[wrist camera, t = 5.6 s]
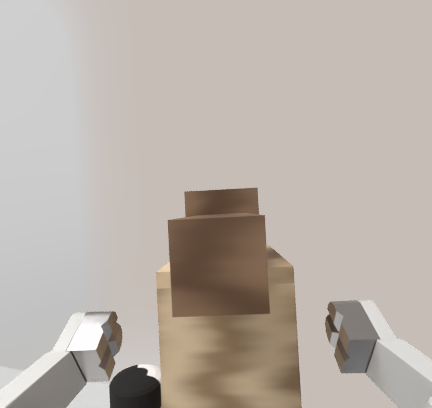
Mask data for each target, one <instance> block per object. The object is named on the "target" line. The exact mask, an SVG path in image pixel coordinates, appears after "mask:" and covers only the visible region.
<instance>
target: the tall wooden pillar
mask: <svg viewBox="0 0 432 408" xmlns="http://www.w3.org/2000/svg"><path fill="white" fill-rule="evenodd" d="M266 250H267V268H268V286H269V304H270V314H252V315H224V316H196V317H172V298H171V276H170V261H169V262H168V263H166V264H165V265H164V266H163V267H162V268H161V269H160V270H159V271H157V272H156V278H157V300H158V322H159V344H160V365H161V366H160V367H161V389H162V408H302V407H301V391H300V373H299V357H298V356H299V355H298V339H297V321H296V304H295V286H294V269H293V266H292V265H291V264H290V263H289V262H288V261H286V260H285V259H284V258H283V257H282V256H281V255H279V254H278V253H277V252H276V251H275V250H274V249H272V248H271V247H270V246H269V245H268V244H266Z"/></svg>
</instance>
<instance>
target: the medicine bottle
mask: <svg viewBox="0 0 432 408" xmlns="http://www.w3.org/2000/svg"><path fill="white" fill-rule="evenodd" d="M109 388H110V408H162V389H161V370H160V369H159V368H158V367H156V366H154V365H149V364H143V365H135V366H132V367H129V368H126V369H124V370H122V371H121V372H119V373H118V374H117V375H116V376H115V377H114V378H113V380H112V381H111V383H110V386H109Z"/></svg>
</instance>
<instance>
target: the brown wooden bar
mask: <svg viewBox="0 0 432 408" xmlns="http://www.w3.org/2000/svg"><path fill="white" fill-rule="evenodd" d="M258 210H259V208H258V191H257V188H247V189H246V188H245V189H226V190H209V191H189V192H185V211H186V212H185V213H186V217H185V218H179V219H173V220H168V233H169V255H170V276H171V298H172V317H196V316H224V315H252V314H270V304H269V286H268V268H267V250H266V232H265V215H259V211H258Z"/></svg>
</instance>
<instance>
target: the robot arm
mask: <svg viewBox="0 0 432 408" xmlns="http://www.w3.org/2000/svg"><path fill="white" fill-rule="evenodd" d="M328 311H329V315H328V316H327V317H326V322H325V325H326V333H327V337H328V340H329V342H330V344H331V345H332V346H333V347H335V348H336V349H335V354H334V355H335V358H336V361H337V363H338V366H339V369H340V371H341V373H366V375H367V376H368V377H369V378H370V379H371V380H372V381H373V382H374V383H375V384H376V385H377V386H378V387H379V388H380V389H381V390H382V391H383V392H384V393H385V394H386V395H387V396H388V397H389V398H390V399H391V400H392V401H393V402H394V403H395V404H396V405H397V406H398V407H399V408H432V360H431V359H430V358H429V357H427V356H426V355H424V354H423V353H421V352H420V351H419V350H417V349H416V348H414V347H413V346H411V345H410V344H408V343H407V342H406V341H404V340H403V339H397V337H396V336H395V334H394V333H393V331H392V329H391V328H390V326H389V325H388V323H387V321H386V320H385V318H384V317H383V316H382V313H381V312H380V310H379V309H378V307H377V305H376V304H375V302H373V301H372V300H359V301H337V302H330V303H329V304H328ZM116 321H117V315H116V312H76V313H74V314H73V315H72V316H71V318H70V319H69V321H68V323H67V325H66V327H65V328H64V330H63V332H62V334H61V336H60V337H59V339H58V341H57V343H56V345H55V346H54V348H53V350H52V352H47V353H46V354H45V355H43V356H42V357H41V358H40V359H38V360H37V361H36V362H35V363H34V364H32V365H31V366H30V367H28V368H27V369H26V370H25V371H24V372H22V373H21V374H20V375H19V376H17V377H16V378H15V379H14V380H12V381H11V382H10V383H9V384H7V385H6V386H5V387H4V388H2V389H1V390H0V408H66V407H67V406H68V405H69V403H70V402H71V401H72V400H73V399H74V398H75V396H76V395H77V394H78V393H79V392H80V391H81V389H82V388H83V387H84V386H85V385H86V382H99V381H109V380H110V377H111V374H112V371H113V368H114V365H115V361H114V358H113V357H114V356H115V355H116V354H117V353H118V352H119V350H120V347H121V343H122V329H121V326H120V325H119V324H118V323H116Z"/></svg>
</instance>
